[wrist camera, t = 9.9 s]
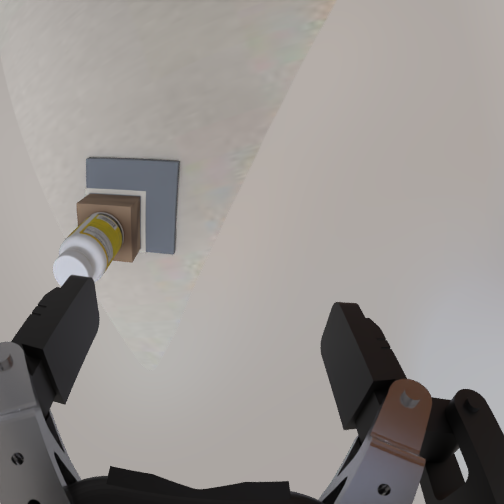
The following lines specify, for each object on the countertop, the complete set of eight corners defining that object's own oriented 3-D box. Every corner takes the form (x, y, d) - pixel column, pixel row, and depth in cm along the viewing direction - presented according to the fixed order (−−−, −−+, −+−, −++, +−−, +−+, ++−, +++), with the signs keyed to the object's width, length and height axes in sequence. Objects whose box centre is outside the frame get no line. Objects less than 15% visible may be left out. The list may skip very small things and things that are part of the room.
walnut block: (89, 193, 37) (76, 203, 33) (140, 196, 37) (130, 206, 34) (92, 243, 40) (81, 256, 36) (140, 248, 40) (132, 262, 37)
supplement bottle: (91, 255, 36) (57, 300, 27) (79, 214, 34) (38, 251, 25) (130, 251, 36) (102, 297, 27) (119, 207, 34) (84, 244, 25)
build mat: (88, 157, 36) (84, 159, 35) (179, 161, 37) (177, 162, 36) (91, 244, 41) (88, 247, 40) (174, 252, 42) (173, 256, 41)
